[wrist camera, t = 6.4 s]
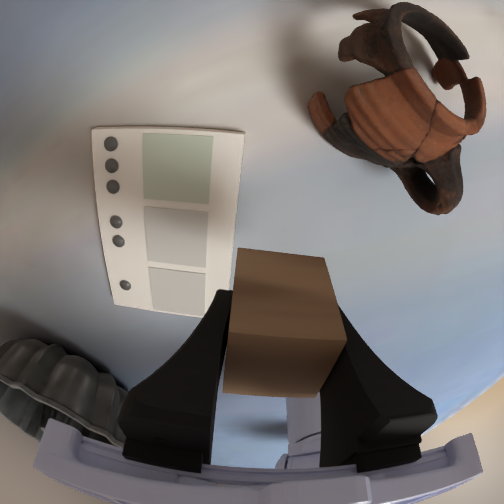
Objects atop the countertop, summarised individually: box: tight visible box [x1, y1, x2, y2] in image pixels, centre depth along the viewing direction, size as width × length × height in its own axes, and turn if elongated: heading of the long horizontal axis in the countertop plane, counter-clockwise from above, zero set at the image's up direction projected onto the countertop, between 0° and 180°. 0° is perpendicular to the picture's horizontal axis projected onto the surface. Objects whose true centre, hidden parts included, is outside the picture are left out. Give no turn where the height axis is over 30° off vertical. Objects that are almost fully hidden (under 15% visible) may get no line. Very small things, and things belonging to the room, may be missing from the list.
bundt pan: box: [0, 339, 128, 448], centre depth 31 cm, size 26×26×10 cm
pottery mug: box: [308, 2, 486, 215], centre depth 14 cm, size 12×10×8 cm
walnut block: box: [222, 248, 347, 398], centre depth 13 cm, size 4×4×5 cm
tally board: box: [91, 126, 245, 318], centre depth 21 cm, size 15×10×1 cm, turn 173°
